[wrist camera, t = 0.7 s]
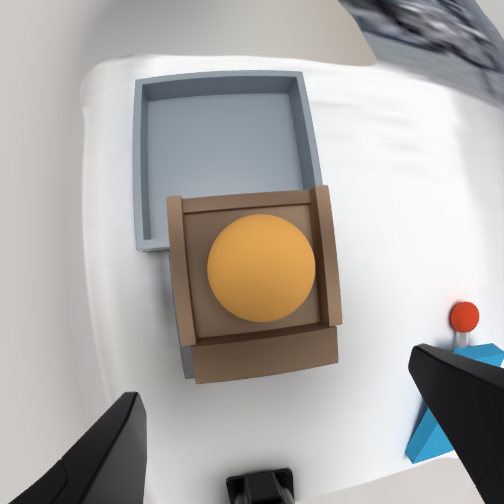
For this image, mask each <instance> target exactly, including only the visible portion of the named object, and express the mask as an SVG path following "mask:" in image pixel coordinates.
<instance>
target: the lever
mask: <svg viewBox="0 0 504 504" xmlns="http://www.w3.org/2000/svg"><path fill="white" fill-rule="evenodd" d="M478 321H479V311H478V309H477V307H476V306H475V305H474V304H473V303H470V302H462V303H459V304H458V305H457V306H456V307H455V308H454V309H453V311H452V314H451V322H452V325H453V327H454V329H455V330H457V331H458V332H460V338H459V348H455V349H454V351H453V353H455V354H459V355H462V356H465V357H468V358H471V359H475V360H478V361H481V362H484V363H488V364H491V365H494V366H498V367H500V365H501V363H502V361H503V359H504V351H503V350H501V349H500V348H498V347H497V346H496V345H494V344H493V343H491V344H484V345H477V346H470V347H469V332H470V331H472V330H473V329H474V328H475V327H476V326H477V324H478ZM453 450H454V448H453V447H452V445H451V443H450V442H449V440H448V438H447V437H446V435H445V434H444V432H443V430H442V429H441V427H440V425H439V424H438V422H437V421H436V419H435V418H434V416H433V414H432V413H431V411H430V410H429V408H428V409H427V411H426V413H425V415H424V417H423V418H422V420H421V422H420V424H419V426H418V428H417V429H416V431H415V433H414V435H413V436H412V438H411V440H410V442H409V443H408V445H407V448H406V451H405V453H406V454H407V456H408V458H409V459H410V461H411V462H412V464H414V463H418V462H421V461H424V460H427V459H430V458H433V457H436V456H439V455H442V454H445V453H447V452H450V451H453Z"/></svg>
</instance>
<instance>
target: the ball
mask: <svg viewBox="0 0 504 504" xmlns="http://www.w3.org/2000/svg"><path fill="white" fill-rule="evenodd" d="M207 274H208V280H209V283H210V287H211V289H212V291H213V293H214V295H215V297H216V298H217V300H218V301H219V302H220V303H221V305H222V306H223V307H224V308H226V309H227V310H228V311H229V312H231V313H232V314H233V315H235V316H237V317H239V318H242V319H244V320H248V321H253V322H270V321H275V320H278V319H281V318H283V317H285V316H287V315H289V314H291V313H292V312H294V311H295V310H296V309H297V308H298V307H299V306H300V305H301V304H302V303H303V302H304V301H305V299H306V298H307V296H308V294H309V292H310V290H311V288H312V285H313V282H314V277H315V259H314V255H313V251H312V248H311V246H310V244H309V242H308V240H307V239H306V237H305V236H304V234H303V233H302V232H301V231H300V230H299V229H298V228H297V227H296V226H294V225H293V224H292V223H290V222H288V221H287V220H285V219H282V218H280V217H277V216H273V215H266V214H255V215H249V216H246V217H243V218H240V219H238V220H236V221H234V222H233V223H231V224H230V225H228V226H227V227H226V228H225V229H224V230H223V231H222V232H221V233H220V234H219V235H218V237H217V238H216V239H215V241H214V243H213V245H212V247H211V250H210V253H209V257H208V264H207Z"/></svg>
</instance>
